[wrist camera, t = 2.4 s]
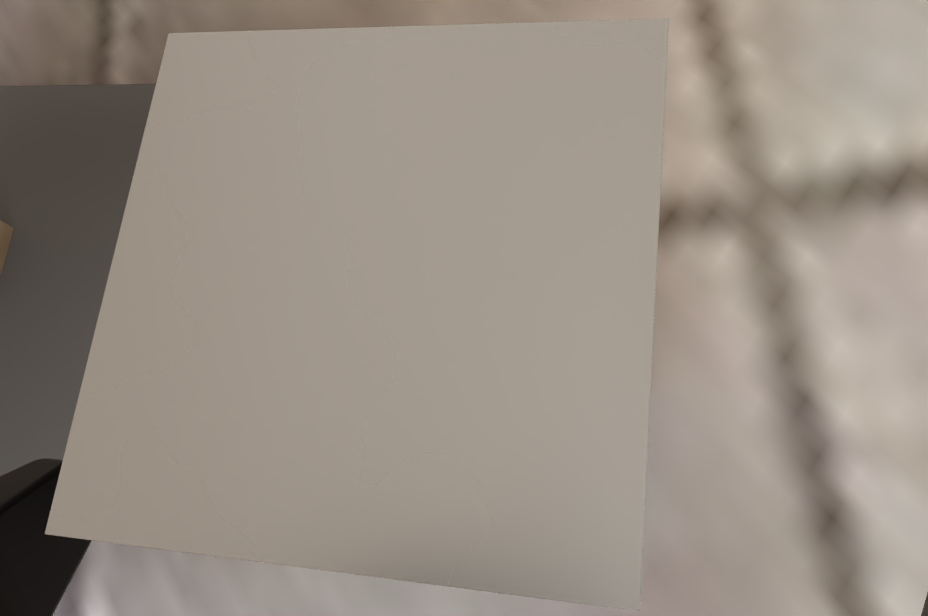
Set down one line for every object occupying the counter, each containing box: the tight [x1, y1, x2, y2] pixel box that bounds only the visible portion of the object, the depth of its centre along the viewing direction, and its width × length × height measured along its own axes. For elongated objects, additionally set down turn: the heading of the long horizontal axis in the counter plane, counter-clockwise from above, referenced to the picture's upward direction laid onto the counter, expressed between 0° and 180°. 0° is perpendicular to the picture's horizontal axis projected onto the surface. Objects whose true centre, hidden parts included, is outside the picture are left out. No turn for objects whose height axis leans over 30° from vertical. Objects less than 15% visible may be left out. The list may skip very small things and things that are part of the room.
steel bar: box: [45, 18, 669, 611], centre depth 12 cm, size 4×4×12 cm
